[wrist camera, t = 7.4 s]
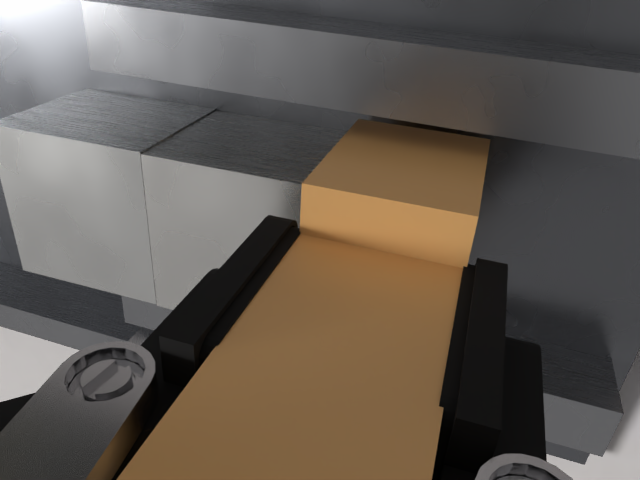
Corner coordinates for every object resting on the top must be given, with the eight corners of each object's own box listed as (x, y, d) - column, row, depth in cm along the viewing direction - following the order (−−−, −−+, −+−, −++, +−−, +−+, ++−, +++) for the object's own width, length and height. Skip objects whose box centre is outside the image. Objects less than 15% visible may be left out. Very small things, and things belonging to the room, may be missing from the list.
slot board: (-245, -151, 16) (-375, -165, 14) (820, -79, 10) (911, -83, 8) (-98, 254, 23) (-167, 290, 21) (581, 443, 17) (591, 524, 15)
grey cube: (216, 110, 15) (140, 154, 12) (362, 133, 14) (320, 187, 11) (220, 240, 17) (156, 305, 14) (348, 269, 16) (309, 345, 13)
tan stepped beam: (359, 119, 13) (-214, 765, 3) (490, 139, 12) (345, 1090, 2) (341, 293, 15) (5, 963, 5) (449, 318, 15) (296, 1145, 5)
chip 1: (86, 88, 16) (-14, 123, 13) (215, 109, 15) (139, 152, 12) (105, 214, 18) (23, 270, 15) (220, 239, 17) (156, 304, 14)
